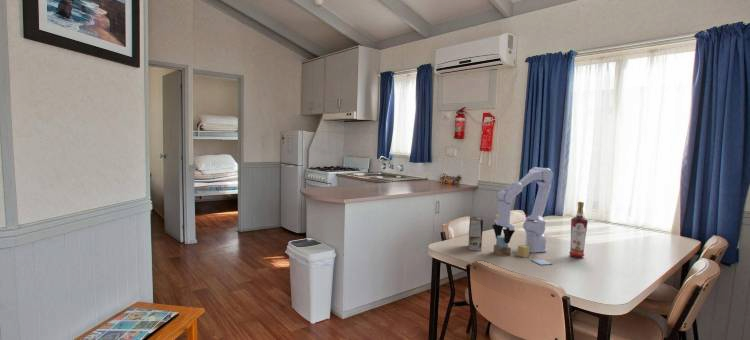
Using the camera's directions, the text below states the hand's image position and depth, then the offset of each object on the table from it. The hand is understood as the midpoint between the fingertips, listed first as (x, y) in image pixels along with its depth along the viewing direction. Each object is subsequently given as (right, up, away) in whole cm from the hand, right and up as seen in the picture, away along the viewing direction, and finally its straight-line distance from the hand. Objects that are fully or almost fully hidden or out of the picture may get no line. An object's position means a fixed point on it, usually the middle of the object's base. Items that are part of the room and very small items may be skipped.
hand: (502, 240), depth 189 cm
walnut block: (0, -7, +1) cm, 7 cm away
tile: (+15, -8, -12) cm, 21 cm away
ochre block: (+10, -7, -2) cm, 12 cm away
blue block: (0, -3, 0) cm, 3 cm away
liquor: (+37, -8, -1) cm, 38 cm away
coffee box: (-12, -6, +9) cm, 16 cm away
